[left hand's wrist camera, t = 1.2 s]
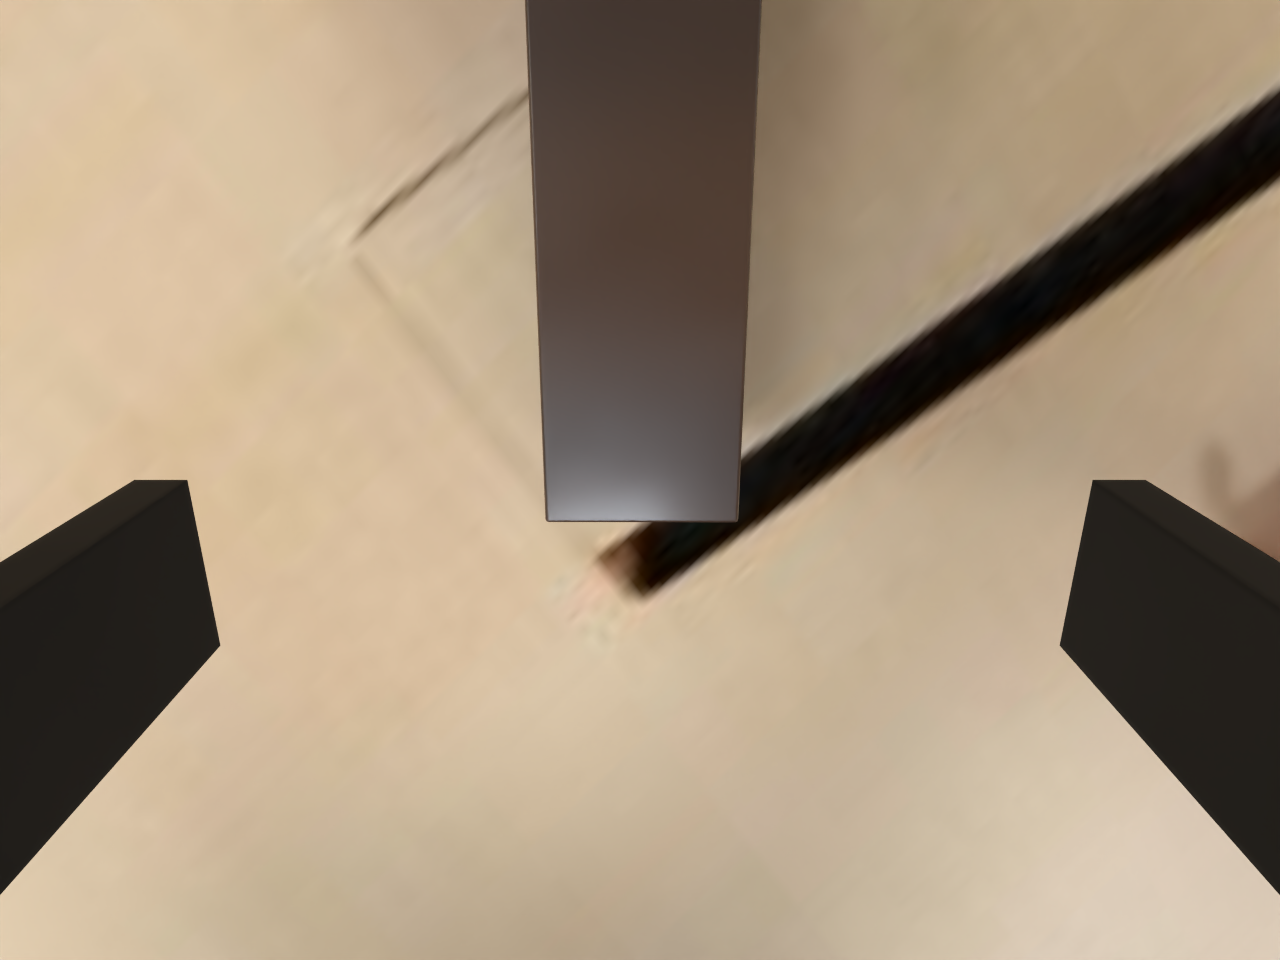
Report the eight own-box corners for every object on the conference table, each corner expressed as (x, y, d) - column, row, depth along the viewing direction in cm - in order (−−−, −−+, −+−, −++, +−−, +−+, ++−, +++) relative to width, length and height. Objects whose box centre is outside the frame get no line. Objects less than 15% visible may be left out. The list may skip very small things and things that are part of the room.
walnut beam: (713, 437, 29) (738, 523, 22) (568, 437, 29) (545, 523, 22) (744, -446, 21) (797, -761, 14) (543, -448, 21) (493, -763, 14)
